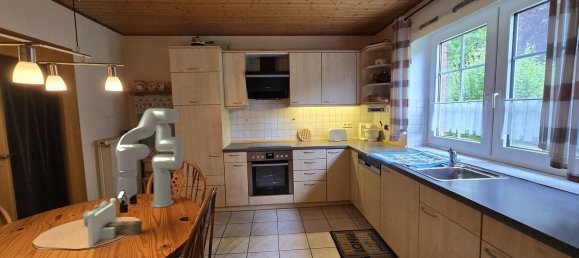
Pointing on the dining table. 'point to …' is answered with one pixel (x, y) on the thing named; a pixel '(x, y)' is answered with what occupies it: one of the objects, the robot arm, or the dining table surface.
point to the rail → (126, 227)
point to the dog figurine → (101, 206)
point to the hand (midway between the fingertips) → (128, 208)
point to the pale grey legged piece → (102, 223)
